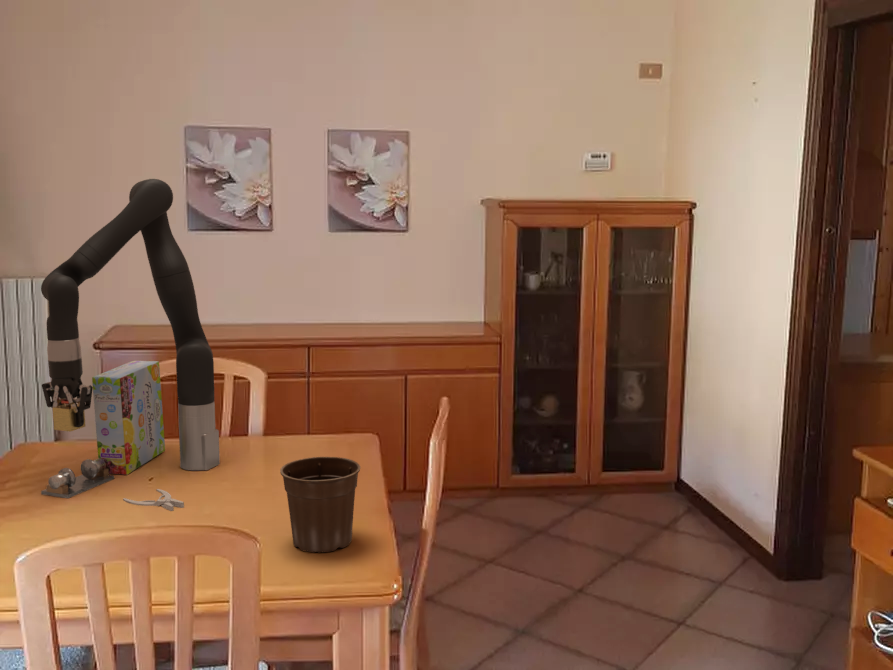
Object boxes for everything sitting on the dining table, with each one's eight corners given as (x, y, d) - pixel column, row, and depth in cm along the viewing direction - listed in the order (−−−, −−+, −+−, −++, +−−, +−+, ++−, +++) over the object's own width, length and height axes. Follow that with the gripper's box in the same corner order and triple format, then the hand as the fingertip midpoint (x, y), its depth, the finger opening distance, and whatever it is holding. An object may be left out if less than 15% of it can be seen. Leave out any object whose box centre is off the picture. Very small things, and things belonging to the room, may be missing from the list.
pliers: (158, 485, 223) (196, 498, 214) (158, 491, 223) (196, 505, 214) (121, 495, 216) (158, 509, 206) (122, 501, 216) (159, 516, 207)
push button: (85, 426, 226) (83, 398, 225) (70, 431, 222) (68, 402, 220) (69, 424, 228) (67, 396, 227) (54, 429, 223) (52, 401, 222)
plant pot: (278, 558, 183) (277, 480, 180) (284, 529, 199) (283, 456, 196) (360, 556, 184) (360, 478, 182) (360, 527, 200) (360, 455, 198)
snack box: (136, 450, 257) (132, 359, 252) (166, 452, 255) (162, 360, 251) (95, 473, 235) (90, 375, 231) (127, 475, 234) (122, 376, 230)
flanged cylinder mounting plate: (88, 475, 234) (87, 453, 233) (114, 478, 231) (113, 456, 231) (41, 494, 219) (39, 471, 219) (67, 498, 217) (66, 475, 216)
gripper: (99, 356, 223) (104, 424, 225) (53, 352, 228) (58, 419, 231) (76, 361, 216) (81, 432, 219) (29, 358, 221) (35, 426, 224)
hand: (69, 425), depth 225 cm, fingers closed on push button, 5 cm apart
